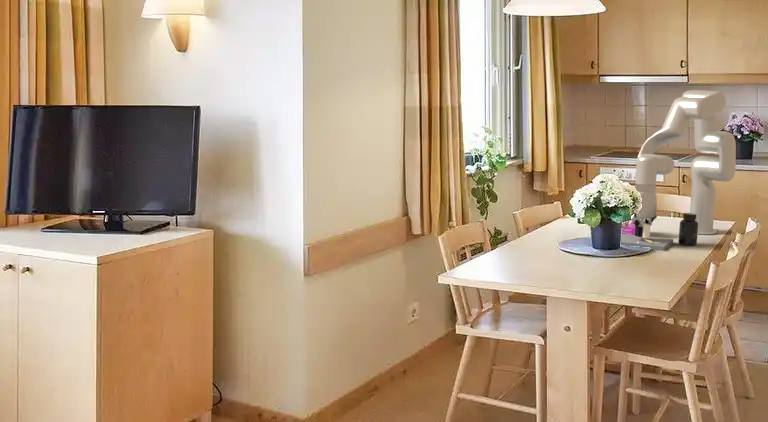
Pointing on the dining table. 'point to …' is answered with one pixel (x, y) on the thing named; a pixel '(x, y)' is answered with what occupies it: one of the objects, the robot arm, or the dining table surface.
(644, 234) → the white ice pop
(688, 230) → the supplement bottle
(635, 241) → the slate dial board
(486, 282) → the dining table surface
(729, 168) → the robot arm
